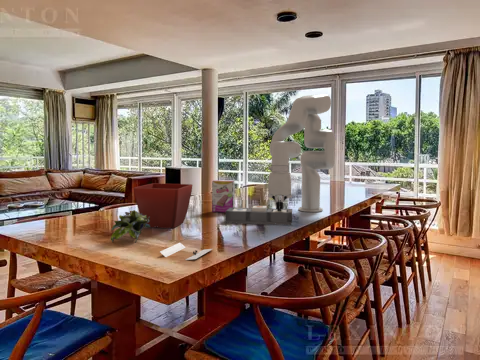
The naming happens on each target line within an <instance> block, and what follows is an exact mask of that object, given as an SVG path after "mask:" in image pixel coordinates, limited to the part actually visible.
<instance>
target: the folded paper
mask: <svg viewBox="0 0 480 360" xmlns="http://www.w3.org/2000/svg"><path fill="white" fill-rule="evenodd" d="M183 249H186V246H185V245H183V243H182V242H178V243H175V244H173V245H171V246H170V247H167V248H165V249H162V250H161V251H159V253H161V255H162V256H164V257H165V258H168V257H169V256H171V255H174V254H175V253H177V252H180V251H182V250H183ZM212 250H213V248H209V249H208V248H207V249H202V250H200V251H199V252H198V250H195V251H193V252H192V255H191V256H190V257H188V258H185V261H189V260H196V259H199V258H200V257H201V256H203V255H205V254H207V253H208V252H211V251H212Z"/></svg>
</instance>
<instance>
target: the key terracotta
mask: <svg viewBox="0 0 480 360" xmlns="http://www.w3.org/2000/svg"><path fill="white" fill-rule="evenodd" d="M251 208H252V211H261V212H267V208H268V207H267V205H253V206H252V207H251Z"/></svg>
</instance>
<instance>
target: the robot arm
mask: <svg viewBox="0 0 480 360" xmlns="http://www.w3.org/2000/svg"><path fill="white" fill-rule="evenodd" d="M331 107H332V99H331V96H330V95H328V94H327V93H326V94H315V95H314V94H311V95H303V96H300V97H297V98H295V99H294V101H293V103H292V105H291V110H290V112H289V115H288V118H287V121H286V122H285V123H283V125H281V126H280V127H279V128H278V129H277V130H276V131H275V132H274V133H273V136H272V138H271V142H270V144H269V154H270V156H271V166H268V167H267V170H268V171H270V172H269V174H268V184H267V197H268V198H270V199H273V200H274V201H275V209H278V211H279V209H280V211H281V209H284V201H286V200H287V199H291V198H292V197H293V196H292V195H293V194H292V177H291V173H290V171H289V170H290V169H289V168H290V164H289V163H290V159H295V158H297V157H299V156H300V159H299V160H300V166H301V206H299V207H298V211H300V212H305V213H317V212H322V211H323V210H324V209H323V207H321V201H320V200H321V175H320V174H319V172H318V170H332V169H333V167H334V166H335V165H334V164H335V160H336V159H335V156H336V155H335V154H336V137H335V132H334V131H333V130H332V129H331V130H330V129H322V120H321V118H320V116H319V114H320V115H321V114H324V113H327V112H328V111H329V110H330V109H331ZM303 130H304V134H303V136H304V137H303V139H304V140H303V141H304V142H303V143H304V146H305V148H308V149H323V150H306V151H303V152H302V148H301V147H302V146H301V145H300V143H298V141H297V142H296V141H284V140H285V139H287V138H288V137H290V136H292V135H295V134H297V133H299V132H301V131H303ZM279 196H281V197H280V198H281V199H280V200H279ZM323 212H324V211H323Z"/></svg>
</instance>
